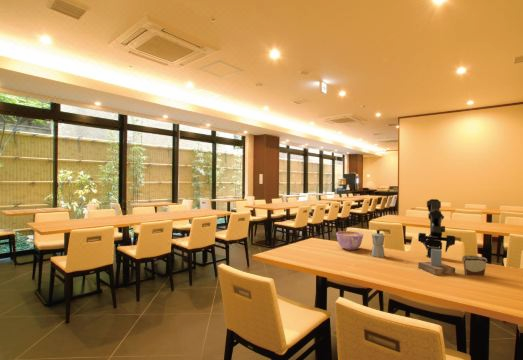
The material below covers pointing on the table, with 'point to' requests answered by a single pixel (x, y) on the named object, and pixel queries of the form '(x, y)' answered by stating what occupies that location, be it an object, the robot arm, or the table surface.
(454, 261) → the table surface
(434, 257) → the slate block
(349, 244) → the bowl of food
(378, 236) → the coffee maker
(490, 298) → the table surface
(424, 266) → the walnut block
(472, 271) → the food container
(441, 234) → the robot arm
